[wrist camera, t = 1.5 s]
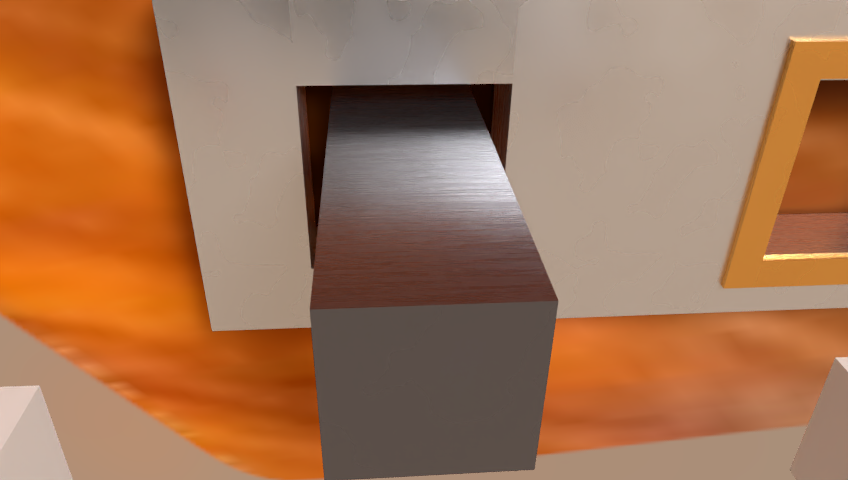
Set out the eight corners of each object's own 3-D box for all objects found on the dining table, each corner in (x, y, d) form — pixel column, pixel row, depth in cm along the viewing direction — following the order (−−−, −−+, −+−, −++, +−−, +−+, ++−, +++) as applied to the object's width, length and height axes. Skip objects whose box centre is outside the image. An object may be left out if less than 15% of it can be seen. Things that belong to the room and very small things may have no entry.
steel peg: (332, 83, 20) (309, 309, 11) (467, 82, 21) (558, 301, 11) (339, 204, 22) (324, 481, 13) (461, 201, 23) (534, 469, 13)
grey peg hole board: (175, -24, 18) (149, -2, 16) (1078, -24, 20) (1170, -3, 18) (225, 285, 24) (210, 335, 21) (942, 261, 26) (999, 305, 23)
